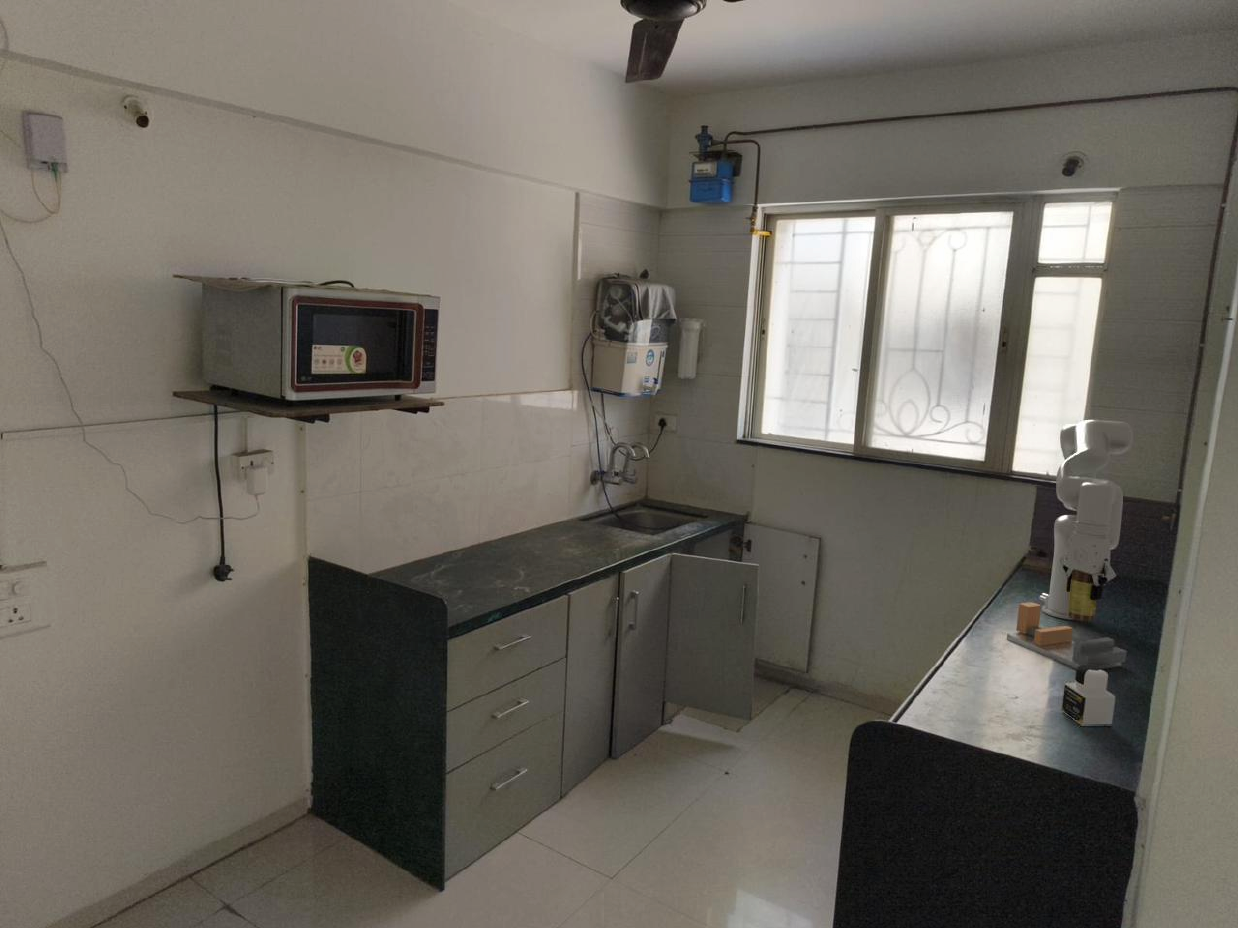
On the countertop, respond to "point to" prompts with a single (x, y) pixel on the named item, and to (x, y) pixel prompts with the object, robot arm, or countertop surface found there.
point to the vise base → (1051, 649)
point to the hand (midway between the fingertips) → (1083, 594)
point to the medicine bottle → (1089, 696)
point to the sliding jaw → (1030, 625)
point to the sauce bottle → (1081, 597)
